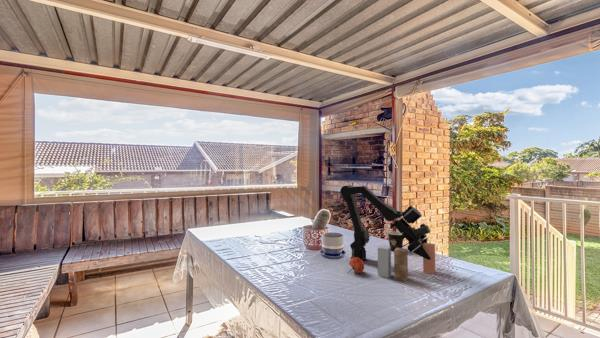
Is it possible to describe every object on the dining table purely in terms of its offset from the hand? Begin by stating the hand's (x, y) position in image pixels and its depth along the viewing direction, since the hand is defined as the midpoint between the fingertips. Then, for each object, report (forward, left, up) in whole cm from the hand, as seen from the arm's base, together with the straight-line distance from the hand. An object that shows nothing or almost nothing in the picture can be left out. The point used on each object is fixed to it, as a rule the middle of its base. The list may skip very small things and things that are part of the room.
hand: (431, 256), depth 127 cm
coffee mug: (+3, +33, -7) cm, 34 cm away
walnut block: (-18, -3, -7) cm, 19 cm away
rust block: (-1, +1, -7) cm, 7 cm away
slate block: (-23, +2, -7) cm, 24 cm away
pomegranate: (-34, +8, -7) cm, 35 cm away
